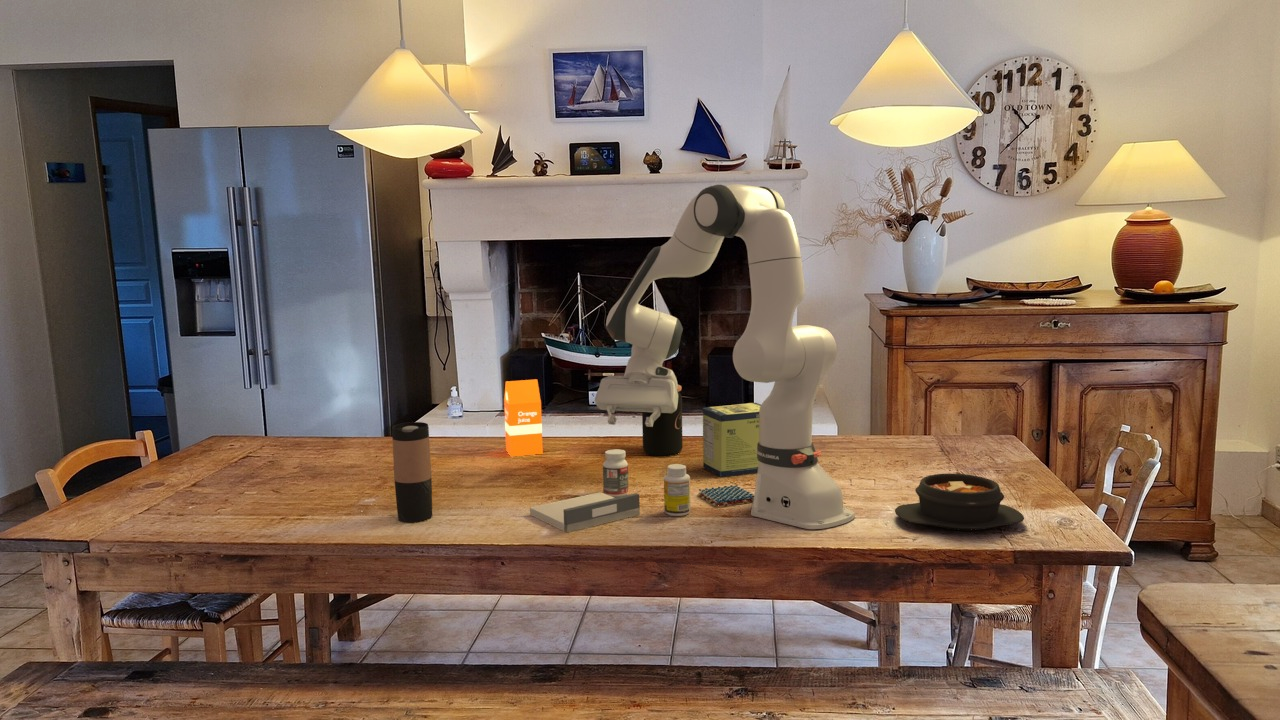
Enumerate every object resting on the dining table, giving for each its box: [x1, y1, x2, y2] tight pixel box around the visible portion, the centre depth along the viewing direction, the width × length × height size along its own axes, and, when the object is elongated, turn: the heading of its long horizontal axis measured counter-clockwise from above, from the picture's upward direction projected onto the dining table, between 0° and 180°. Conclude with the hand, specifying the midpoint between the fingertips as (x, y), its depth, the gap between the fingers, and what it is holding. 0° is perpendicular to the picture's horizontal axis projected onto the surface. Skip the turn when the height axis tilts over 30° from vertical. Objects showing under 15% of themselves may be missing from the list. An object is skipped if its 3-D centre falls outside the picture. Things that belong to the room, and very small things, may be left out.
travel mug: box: [391, 421, 433, 524], centre depth 196 cm, size 8×8×20 cm
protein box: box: [702, 402, 762, 478], centre depth 231 cm, size 10×16×16 cm
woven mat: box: [697, 484, 754, 508], centre depth 207 cm, size 10×11×2 cm
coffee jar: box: [641, 384, 683, 457], centre depth 249 cm, size 11×11×18 cm
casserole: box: [894, 473, 1025, 532], centre depth 188 cm, size 25×19×8 cm
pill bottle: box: [602, 448, 629, 498], centre depth 212 cm, size 6×6×10 cm
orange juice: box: [503, 378, 544, 457], centre depth 251 cm, size 8×9×20 cm
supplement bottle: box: [663, 463, 691, 517], centre depth 197 cm, size 6×6×10 cm
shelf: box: [529, 491, 641, 533], centre depth 197 cm, size 15×18×4 cm
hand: (629, 424), depth 220 cm, fingers open, 8 cm apart
